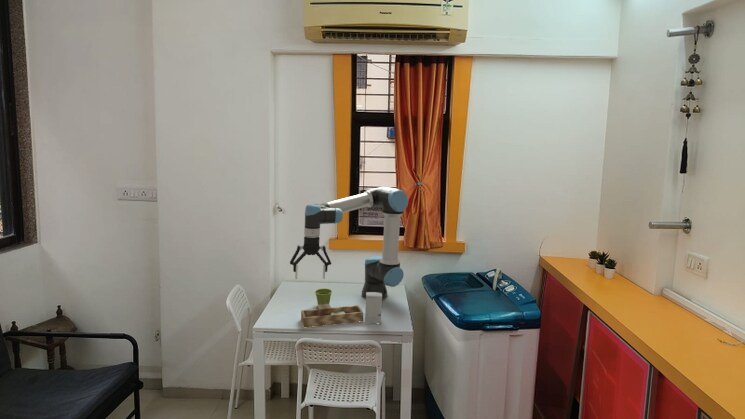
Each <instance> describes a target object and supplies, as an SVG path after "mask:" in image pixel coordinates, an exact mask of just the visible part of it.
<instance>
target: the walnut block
mask: <svg viewBox="0 0 745 419" xmlns="http://www.w3.org/2000/svg"><path fill="white" fill-rule="evenodd" d="M331 308H332V307H331V305H330V303H329V304H322V305H318V304H317V308H316V309H317V314H318V316H323V315H331Z"/></svg>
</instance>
